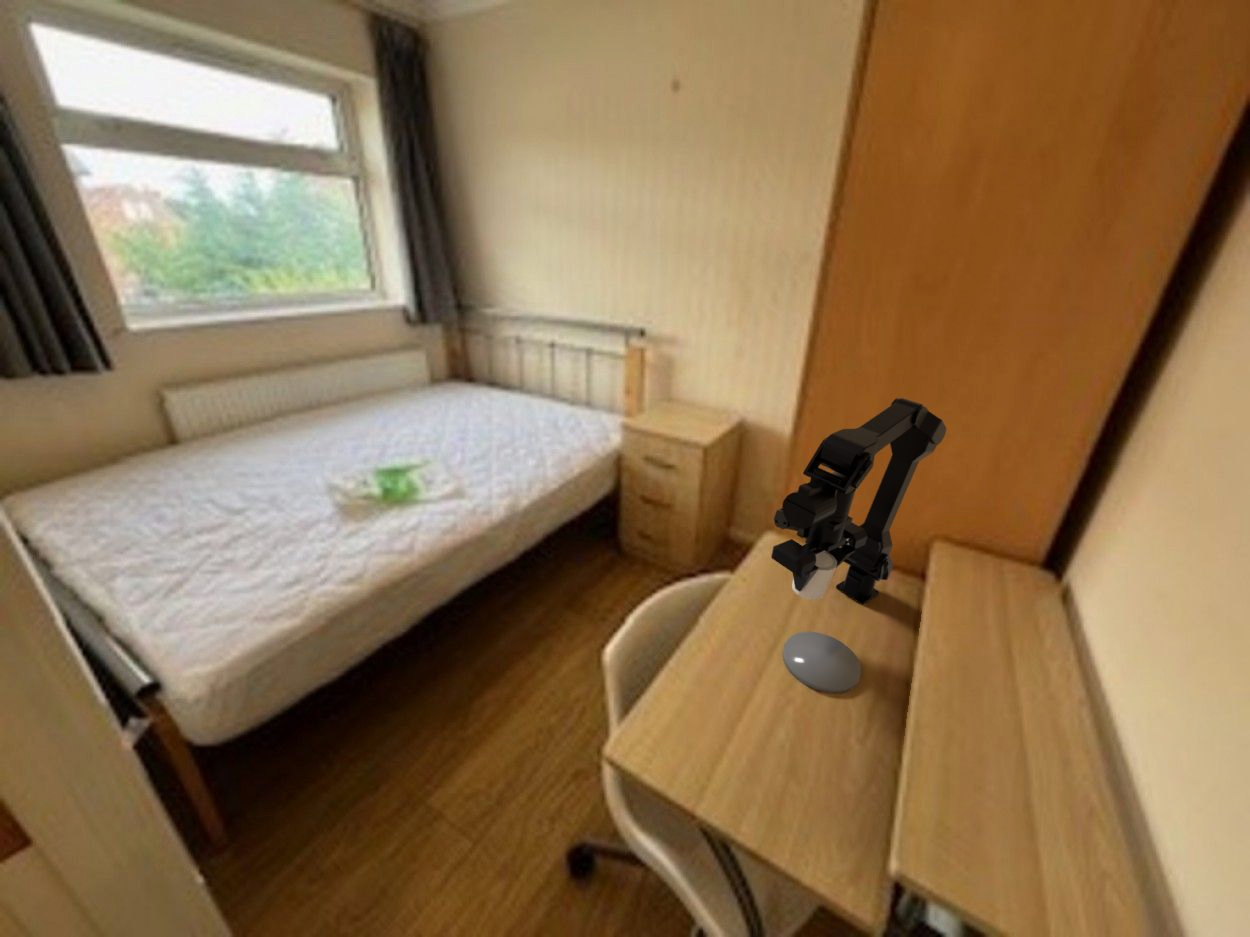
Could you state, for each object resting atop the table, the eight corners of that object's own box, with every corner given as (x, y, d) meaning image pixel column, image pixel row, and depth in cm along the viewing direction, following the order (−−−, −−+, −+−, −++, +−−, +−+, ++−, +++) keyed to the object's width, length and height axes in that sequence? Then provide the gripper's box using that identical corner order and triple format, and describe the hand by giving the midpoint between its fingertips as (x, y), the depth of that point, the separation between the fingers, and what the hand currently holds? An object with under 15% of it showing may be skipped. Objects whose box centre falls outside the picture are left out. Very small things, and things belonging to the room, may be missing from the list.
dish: (812, 627, 105) (813, 622, 104) (874, 671, 96) (876, 666, 95) (767, 655, 97) (768, 650, 97) (830, 706, 88) (832, 701, 88)
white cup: (823, 580, 101) (833, 549, 98) (831, 605, 95) (841, 572, 92) (786, 575, 102) (793, 544, 98) (791, 599, 96) (799, 566, 92)
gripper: (825, 476, 101) (806, 546, 108) (755, 500, 91) (740, 575, 98) (879, 503, 93) (856, 577, 100) (809, 532, 83) (788, 612, 90)
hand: (809, 584), depth 98 cm, fingers closed on white cup, 6 cm apart
